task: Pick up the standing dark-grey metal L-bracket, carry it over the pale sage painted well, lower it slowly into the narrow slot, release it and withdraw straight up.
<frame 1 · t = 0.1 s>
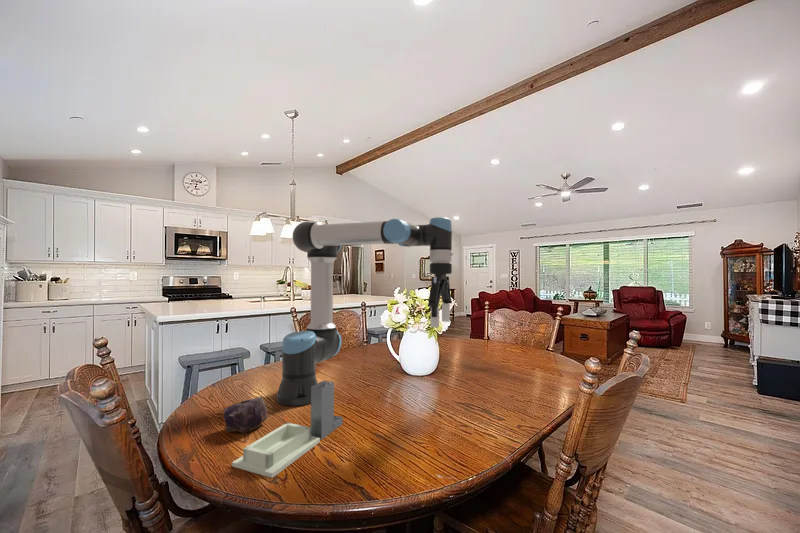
hand: (440, 324, 120), 28 cm above the table, fingers open, 13 cm apart
bracket: (322, 434, 99), on the table
well: (279, 453, 88), on the table
rock: (246, 430, 102), on the table
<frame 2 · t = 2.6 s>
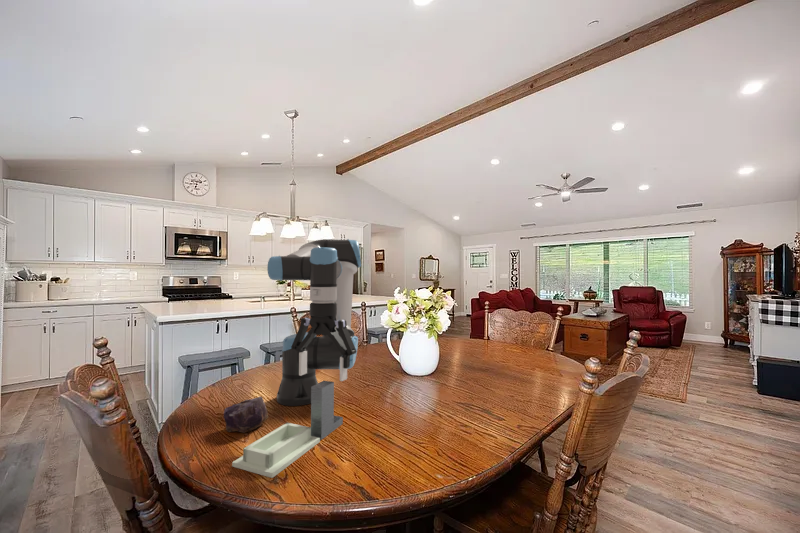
hand: (322, 377, 99), 16 cm above the table, fingers open, 13 cm apart
nothing on the table moved.
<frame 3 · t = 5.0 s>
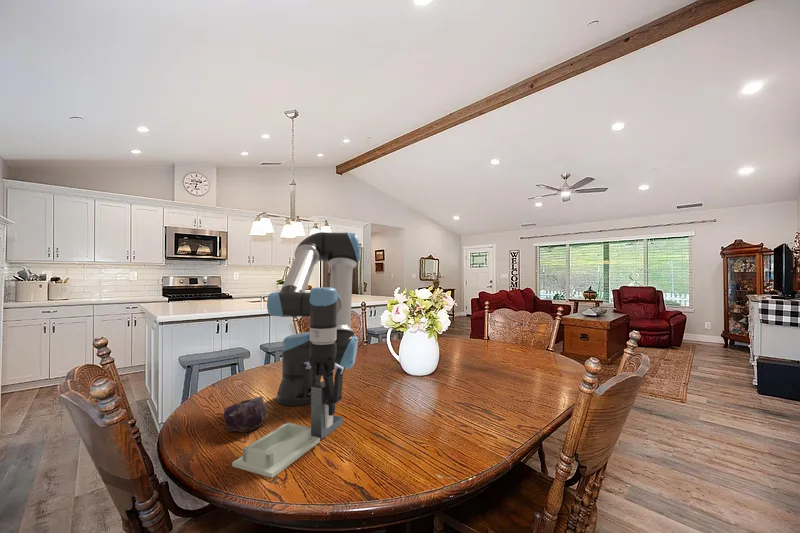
hand: (322, 424, 99), 3 cm above the table, fingers closed on bracket, 3 cm apart
bracket: (322, 433, 99), on the table, touching gripper
everything else where it was.
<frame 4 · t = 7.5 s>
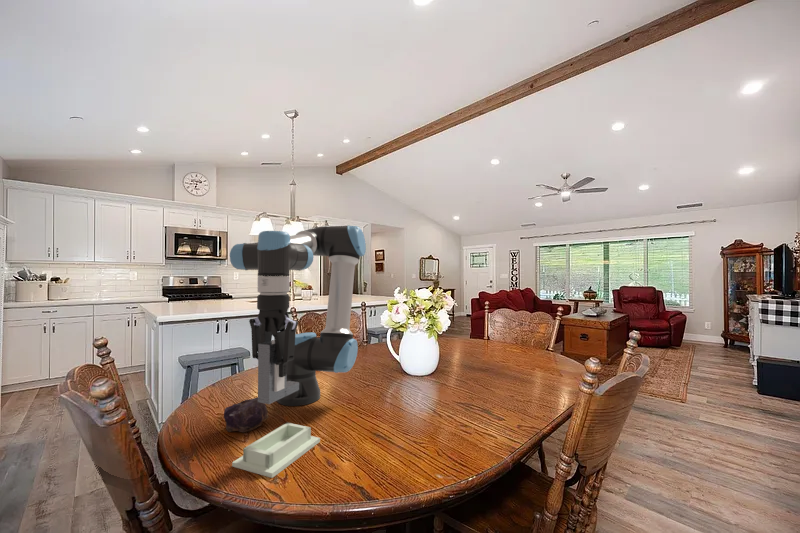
hand: (272, 388, 86), 17 cm above the table, fingers closed on bracket, 3 cm apart
bracket: (272, 399, 86), point 15 cm above the table, touching gripper
everything else where it was.
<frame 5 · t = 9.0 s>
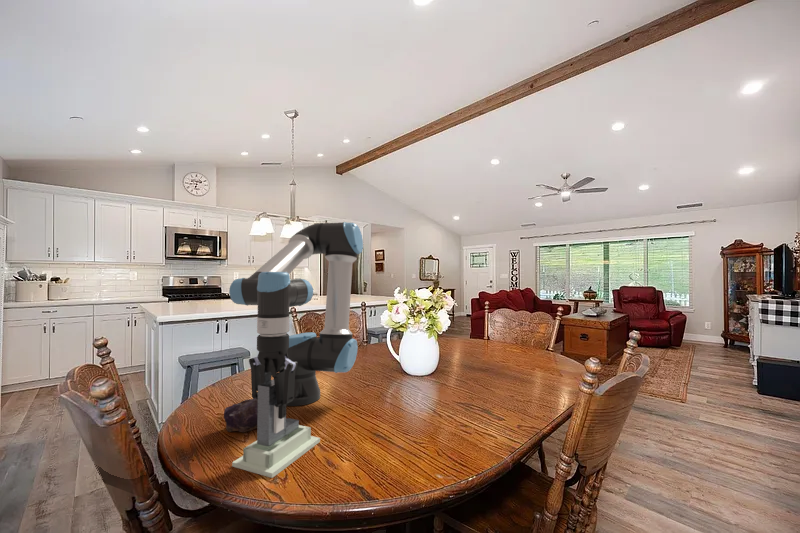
hand: (272, 429, 86), 7 cm above the table, fingers closed on bracket, 3 cm apart
bracket: (271, 439, 86), point 5 cm above the table, touching gripper
everything else where it was.
when the fingers open (5 cm above the table, at t = 10.1 s): bracket drops 1 cm, resting on well.
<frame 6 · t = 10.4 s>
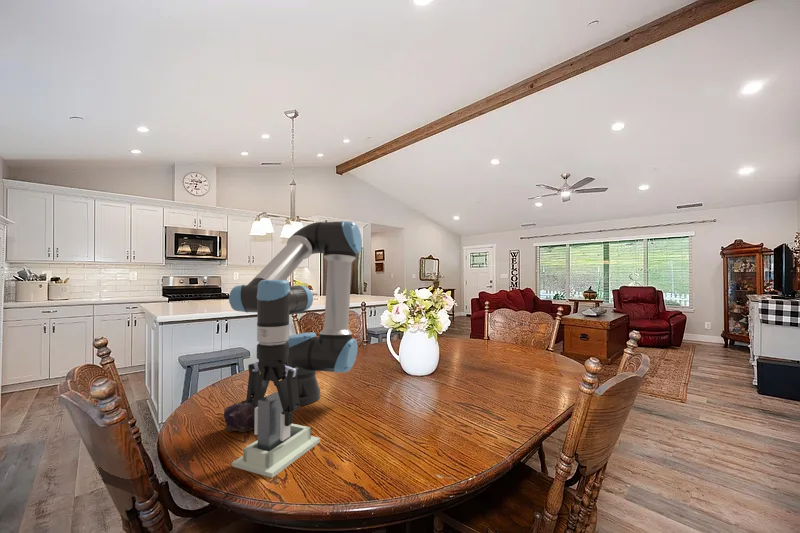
hand: (272, 435, 86), 6 cm above the table, fingers open, 7 cm apart
bracket: (272, 453, 86), point 1 cm above the table, touching well
everything else where it was.
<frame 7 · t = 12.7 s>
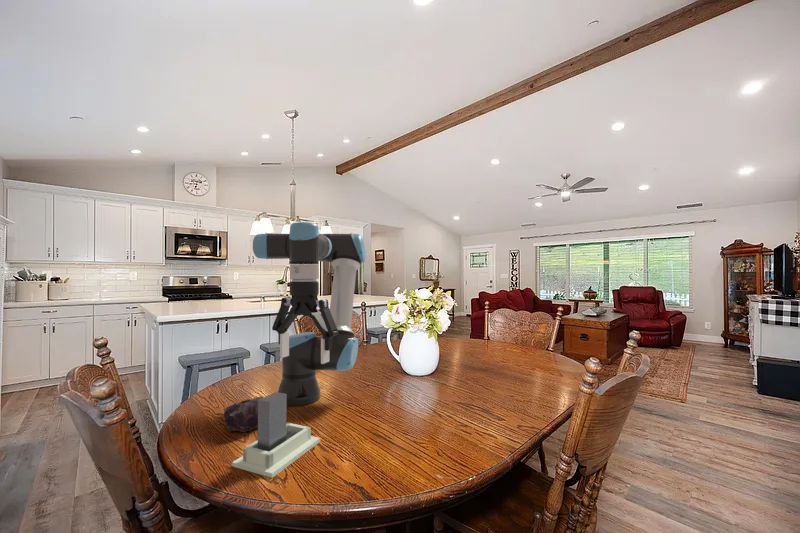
hand: (304, 359, 94), 22 cm above the table, fingers open, 13 cm apart
nothing on the table moved.
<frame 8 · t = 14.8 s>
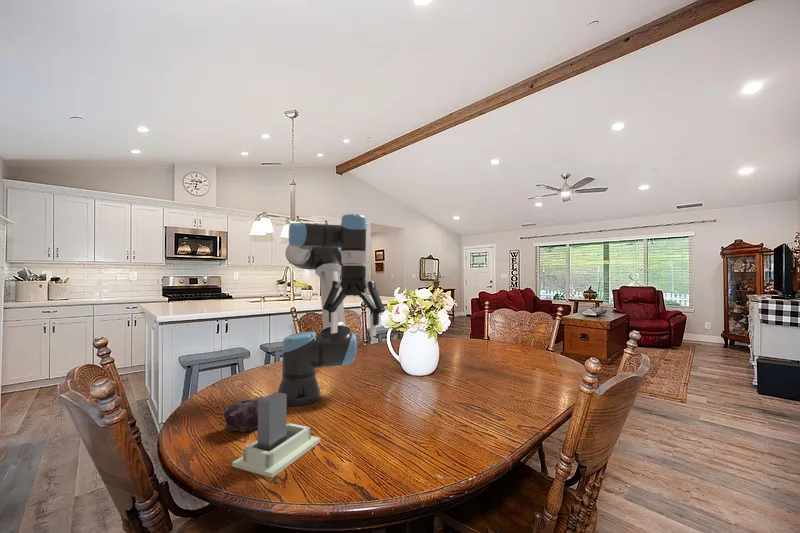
hand: (353, 334, 107), 27 cm above the table, fingers open, 13 cm apart
nothing on the table moved.
at the end: bracket 0.0 cm from the target spot on the well, point 1.0 cm above the well's base; bracket tilted 0°; the gripper is holding nothing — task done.
